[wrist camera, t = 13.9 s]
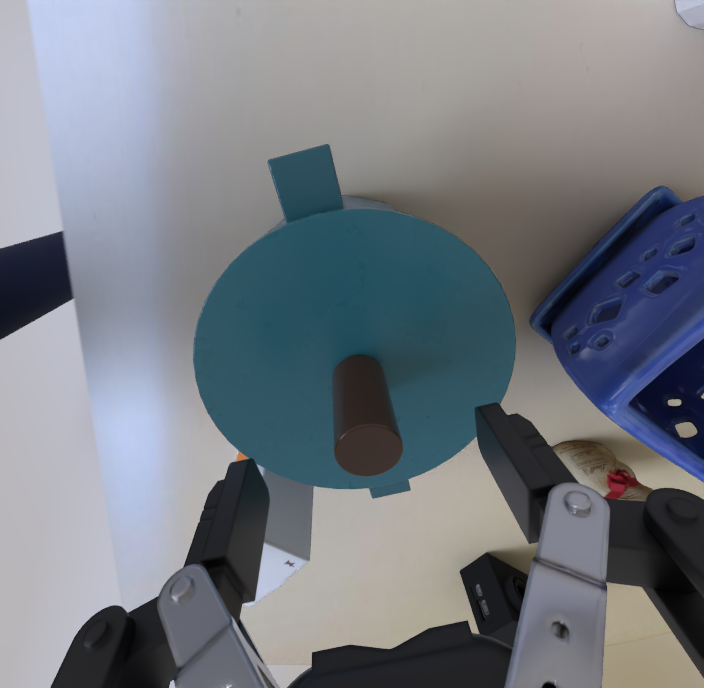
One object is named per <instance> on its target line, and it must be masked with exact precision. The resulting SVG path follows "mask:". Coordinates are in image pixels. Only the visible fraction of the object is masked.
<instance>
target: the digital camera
mask: <svg viewBox="0 0 704 688" xmlns="http://www.w3.org/2000/svg"><path fill="white" fill-rule="evenodd" d="M460 574H461V577H462V580H463V583H464V586H465V590H466V593H467V596H468V599H469V602H470V605H471V608H472V612H473V615H474V618H475V621H476V624H477V627H478V630H479V633H480V634H481V635H485V636H489V637H492V638H494V639H497V640H499V641H502V642H503V643H505V644H507V645H509V646H511V647H512V648H513V645H514V641H515V636H516V631H517V627H518V622H519V617H520V613H521V608H522V603H523V599H524V594H525V589H526V585H527V580H528V575H526V574H524V573H522V572H520V571H519V570H517V569H515V568H513V567H511V566H510V565H508V564H506V563H504V562H502V561H500V560H499V559H497V558H495V557H493V556H491V555H489V554H487V553H486V554H484V555H483V556H481V557H480V558H478V559H477V560H476V561H474V562H473V563H471V564H470V565H468V566H467V567H465V568H464V569H463V570H461V571H460Z"/></svg>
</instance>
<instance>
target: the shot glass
mask: <svg viewBox="0 0 704 688" xmlns="http://www.w3.org/2000/svg"><path fill="white" fill-rule="evenodd" d="M675 4H676V9H677V13H678V14H679V15H680V16H681V17H682V18H683V19H684V21H685V22H686V23H687V24H688V25H689V26H691V27H696V28H700V29H704V0H675Z"/></svg>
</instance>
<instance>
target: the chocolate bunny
mask: <svg viewBox="0 0 704 688" xmlns="http://www.w3.org/2000/svg"><path fill="white" fill-rule="evenodd" d="M552 449H553V451H554V452H555V453H556V454H557V456H558V457H559V458H560V459H561V461H562V462H563V463H564V464H565V466H566V467H567V468H568V470H569V471H570V472H571V473H572V475H573V476H574V477H575V478H576V480H577V481H578V482H579V483H580V484H583V485H586V486H588V487H590V488H592V489H594V490H596V491H597V492H598V493H600V494H601V495H602V496H603V497H606V498H611V499H618V500H632V501H646V498H647V496H648V494H649V493H651V492H652V491H654V490H653V489H651V488H649V487H646V486H644V485H642V484H641V483H639V482H638V481H637V479H636V477H635V474H634V472H633V471H632V470H631V469H630V468H629V467H628V466H627V465H625V464H623V463H621V462H619V461H617V460H616V458H615V456H614V454H613V453H612V452H611V451H609V450H607V449H606V448H605V447H603V446H602V445H600V444H597V443H592V442H586V441H584V442H580V441H569V442H563V443H560V444H558V445H556V446H554V447H552Z"/></svg>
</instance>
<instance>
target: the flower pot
mask: <svg viewBox="0 0 704 688" xmlns="http://www.w3.org/2000/svg"><path fill="white" fill-rule="evenodd" d="M530 325H531V327H532V328H533V329H534V330H535V331H536V332H538V333H539V334H540V335H541V336H543V337H544V338H545V339H546V340H548V341H549V342H550V343H551V344H553V347H554V350H555V352H556V355H557V357H558V359H559V361H560V363H561V364H562V366H563V367H564V369H565V371H566V372H567V374H568V375H569V376H570V377H571V379H572V380H573V381H574V383H575V384H576V385H577V386H578V388H579V389H580V390H581V391H582V392H583V393H584V394H585V395H586V396H587V397H588V399H589V400H590V401H591V402H592V403H593V404H594V405H595V406H596V407H597V408H598V409H599V410H600V411H601V412H603V413H604V414H605V415H606V416H607V417H609V418H610V419H611V420H612V421H613V422H615V423H616V424H617V425H619V426H620V427H621V428H622V429H624V430H625V431H627V432H628V433H629V434H631V435H632V436H633V437H635V438H636V439H638V440H639V441H640V442H642V443H643V444H645V445H646V446H648V447H649V448H651V449H652V450H654V451H655V452H657V453H658V454H660V455H662V456H663V457H665V458H666V459H668V460H670V461H671V462H673V463H674V464H676V465H678V466H679V467H681V468H682V469H684V470H685V471H687V472H688V473H690V474H691V475H693V476H695V477H696V478H698V479H699V480H701V481H702V482H704V399H702V398H701V396H702V395H703V393H704V196H701V197H698V198H695V199H692V200H689V201H686V202H684V203H683V202H682V201H681V200H680V199H679V198H678V197H677V196H676V195H675V194H674V193H673V192H672V191H671V190H670V189H669V188H667V187H665V186H659V187H656V188H654V189H653V190H651V191H650V192H648V193H647V194H646V195H645V196H644V197H642V198H641V199H640V200H639V201H638V202H637V203H636V204H635V205H634V206H633V207H632V208H631V209H630V211H629V212H628V213H627V214H626V215H625V216H624V217H623V218H622V219H621V220H620V221H619V222H618V223H617V224H616V225H615V226H614V227H613V228H612V229H611V230H610V231H609V232H608V233H607V234H606V235H605V236H604V237H603V238H602V239H601V240H600V241H599V242H598V243H597V245H596V246H595V247H594V248H593V249H592V250H591V251H590V252H589V253H588V254H587V255H586V256H585V257H584V258H583V259H582V260H581V261H580V262H579V263H578V264H577V265H576V266H575V268H574V269H573V270H572V271H571V272H570V273H569V274H568V275H567V276H566V277H565V278H564V279H563V280H562V282H561V283H560V284H559V285H558V286H557V287H556V288H555V289H554V290H553V291H552V292H551V293H550V294H549V295H548V297H547V298H546V299H545V300H544V301H543V302H542V303H541V304H540V305H539V306H538V308H537V309H536V310H535V311H534V313H533V314H532V316H531V318H530ZM671 399H680V400H681V402H682V403H681V405H680V406H669V405H668V400H671ZM683 422H691V423H692V424H693V425H694V426H695V427H696V429H697V434H696V435H694V436H692V437H689V438H683V437H680V436H679V434H678V432H677V430H676V428H675V425H676V424H679V423H683Z"/></svg>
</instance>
